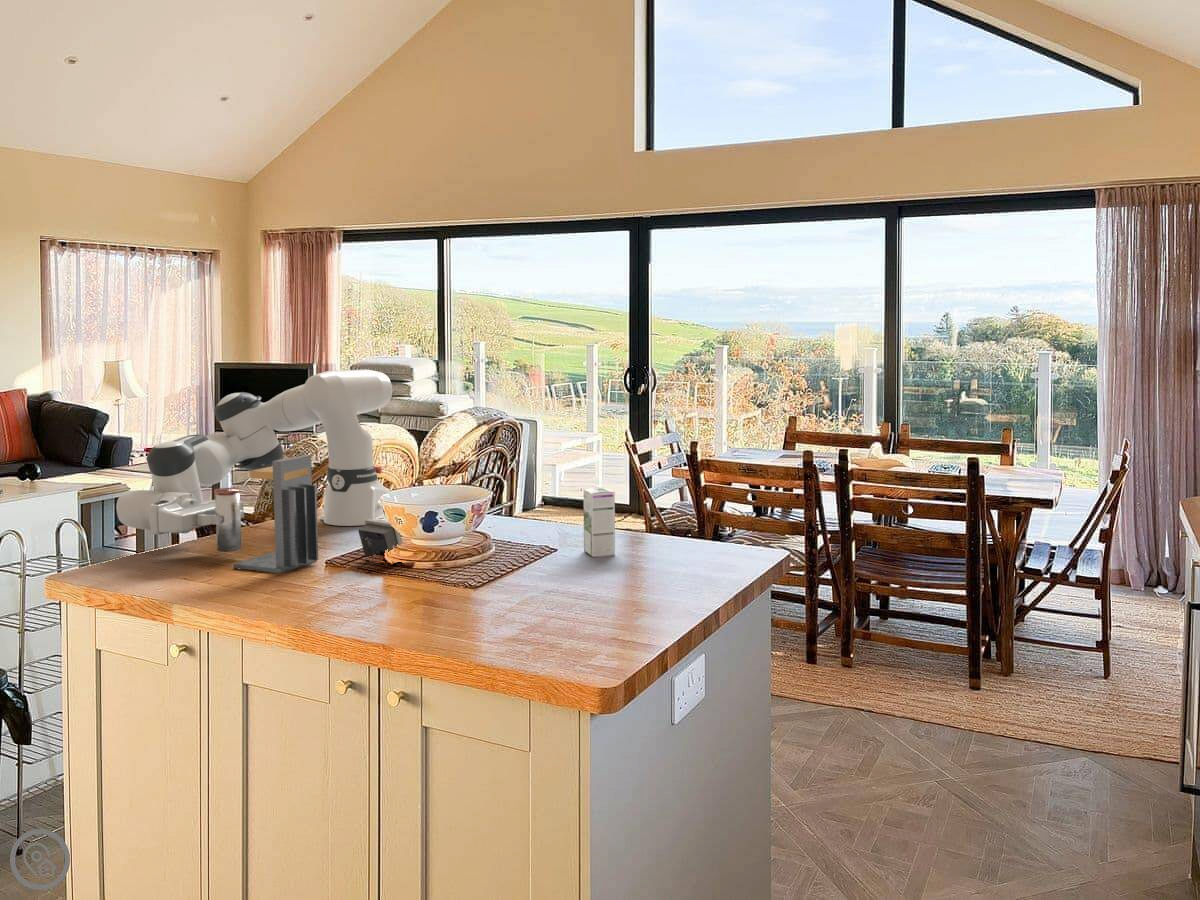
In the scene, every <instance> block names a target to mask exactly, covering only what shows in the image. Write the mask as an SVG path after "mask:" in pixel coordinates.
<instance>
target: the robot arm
mask: <svg viewBox="0 0 1200 900" xmlns="http://www.w3.org/2000/svg"><path fill="white" fill-rule="evenodd" d="M392 396H393V385H392V382H391V379H390V377H389V376H388V375H386V374H385V373H383V372H381V371H377V370H372V369H366V368H365V369H345V370H343V369H339V370H327V371H324V372H319V373H316V374H314V375H310V376H309V377H308V378H307V379H306V381H305V383H304V384H300V385H298V386H295V387H293V388H289V389H286V390H284V391H283V392H281V393H279V394H276V395H275V396H274V397H272V398H271V399H269V400H268V401H266V402H263V401H261V400H262V397H261V396H260V395H257V396H256V395H254V394H252V393H249V392H244V391H241V392H233V393H230V394H227V395H225V396H224V397H223V398H221V399H220V401H218V403H217V404H216V405H215V407H214V409H213V410H214V414H215V418H216V420H217V422H218V423H219V424H220V427H221V429H222V431H223V433H224V434H223V433H218V432H215V433H209V434H207V435H205V434H198V433H197V434H189V435H185V436H181V437H179V438H177V439H173V440H171V441H164V442H161V443H159V444H156V445H154V446H153V447H152V448H151V449H150V451H149V452H148V454H147V455H146V458H145V459H146V462H147V466H148V468H149V471H150V475H151V479H152V483H153V489H154V490H151V489H147V490H146V489H143V490H142V489H141V490H140V489H135V490H128V491H127V490H126V491H124V492H122V493H121V494H119V496H118V499H117V501H116V506H115V509H116V515H117V518H118V520H119V521H120V523H121V524H123V525H124V526H127V527H129V528H132V529H133V528H134V529H138V530H145V531H151V534H152V535H157V536H158V535H159V536H160V535H165V534H188V533H191V532H192V531H194V530H195V529H198V528H201V527H202V528H203V527H206V526H210V525H218V524H222V523H223V522H224V520H223V516H222V515H216V509H215V499H212V500H207V501H204V498H203V497H204V496H203V493H202V492H203V491H202V488H201V487H202V486H203V487H204V486H205V487H206V486H207V487H208V486H213V485H215V484H218V483H220V482H221V481H222V480H224V479H225V478H226V476H227V475H228V474H229V473H230V472H231V471H232V468H233V466H234V465H235V464H237V463H238V465H237V468H238V469H241V470H244V469H245V470H247V471H249V472H250V471H252V470H257V469H262V468H267V467H272V466H273V463H272V461H276V460H281V459H283V457H284V456H285V455H284V453H285V452H284V449H283V445H282V443H281V442H279V440H278V437H277V434H276V433H275V431H277V432H292V431H293V432H294V431H299V430H303V429H308V428H310V427H314V426H316V425H320V424H322V426H323V429H324V432H325V435H326V441H327V453H328V454H327V455H328V467H327V469H326V471H327V472H326V476H327V479H326V480H327V482H328V484H327V486H326V488H325V491H324V505H323V513H322V514H320V520H322V521H323V523H324V524H326V525H329V526H330V525H332V526H338V527H340V526H343V527H345V526H346V527H353V526H354V527H355V526H357V527H358V526H364V525H365V520H368V519H371V520H377V521H384V522H386V519H385V517H384V515H383V512H382V509H381V506H380V504H379V503H378V501H379V499H380V497H381V496H382V495H383V494H384V493H387V492H391V491H390V490H389V489H388V488H387V487H386V486H384V485H383V484H382V483H381V482H380V481H379V480H378V479H379V478H378V474H379V475H381V474H382V473H383V471H384V468H383V466H382V465H379V466H378V465H375V466H374V453H373V452H374V451H373V450H374V449H373V448H374V445H373V437H372V435H371V434H370V433H369V431H368V430H365V429H364V428H363V427H362V426H361V424H360V422H359V419H358V415H361V414H366V413H370V412H374V411H376V410H379V409H381V408H385V407H386V406H387V405H389V403H390V402H391V399H392ZM240 513H241V519H244V517H245V512H244V502H243V501H242V500H240Z"/></svg>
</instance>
